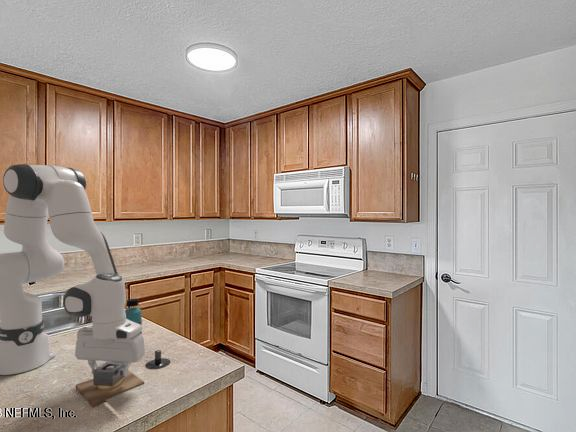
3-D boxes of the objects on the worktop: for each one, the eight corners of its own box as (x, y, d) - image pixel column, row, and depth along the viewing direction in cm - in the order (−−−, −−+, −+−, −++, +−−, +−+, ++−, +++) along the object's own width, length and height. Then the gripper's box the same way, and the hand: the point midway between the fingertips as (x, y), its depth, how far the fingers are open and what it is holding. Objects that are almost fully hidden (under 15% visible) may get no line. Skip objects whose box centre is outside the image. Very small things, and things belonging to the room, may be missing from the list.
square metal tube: (93, 385, 94) (93, 371, 94) (107, 374, 100) (106, 361, 100) (112, 386, 94) (112, 372, 94) (125, 375, 100) (125, 362, 99)
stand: (140, 366, 110) (140, 351, 110) (163, 358, 116) (163, 344, 116) (152, 374, 105) (152, 358, 105) (175, 365, 111) (174, 350, 111)
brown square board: (75, 388, 96) (75, 368, 96) (124, 371, 107) (124, 353, 107) (93, 407, 87) (92, 385, 87) (144, 385, 98) (144, 366, 98)
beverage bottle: (121, 357, 117) (120, 302, 116) (125, 350, 123) (124, 297, 123) (140, 355, 118) (140, 301, 118) (143, 348, 125) (143, 296, 125)
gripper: (69, 330, 95) (69, 377, 95) (135, 333, 93) (135, 381, 93) (85, 323, 101) (85, 367, 101) (147, 325, 99) (147, 370, 99)
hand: (110, 374), depth 97 cm, fingers open, 8 cm apart
